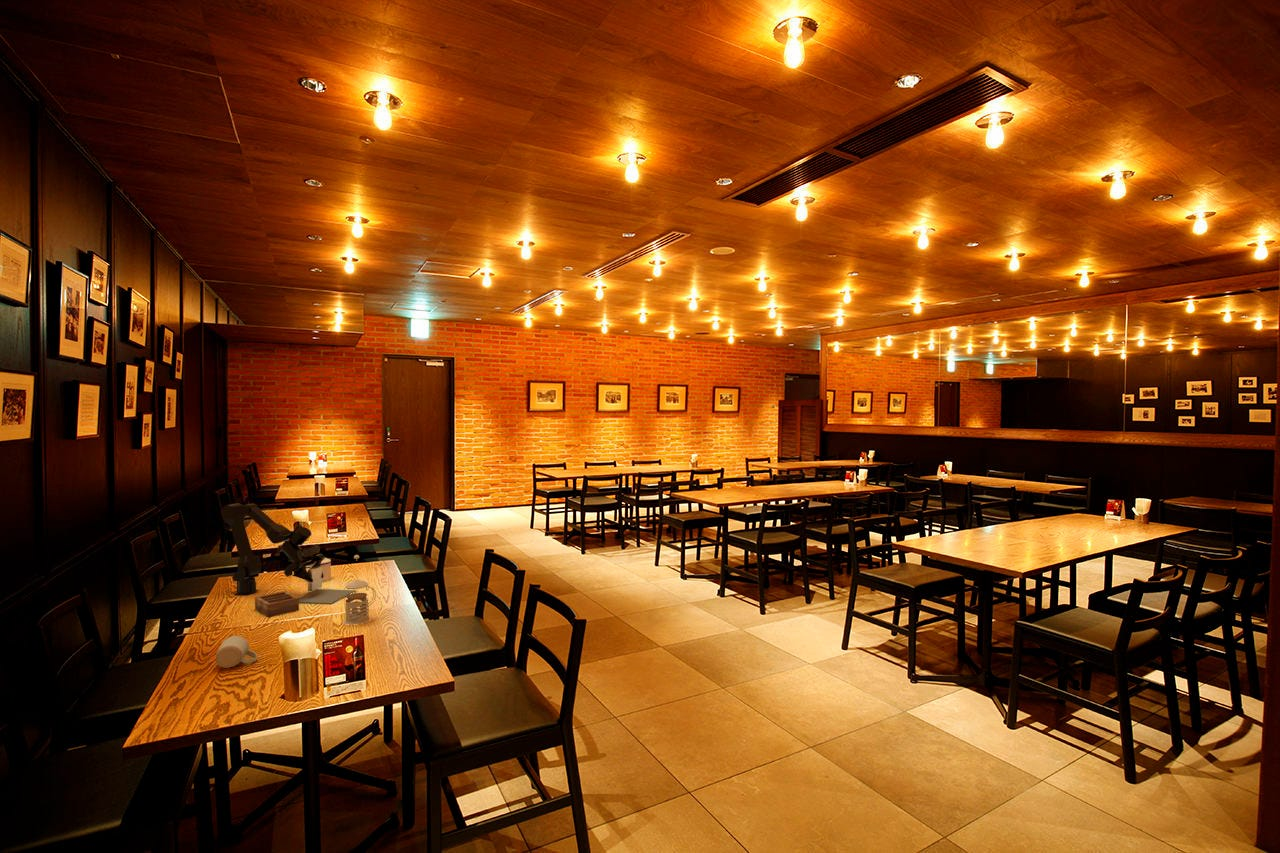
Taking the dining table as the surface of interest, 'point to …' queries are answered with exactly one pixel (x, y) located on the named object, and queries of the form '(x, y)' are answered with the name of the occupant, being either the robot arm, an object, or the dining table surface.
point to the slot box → (276, 604)
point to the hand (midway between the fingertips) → (317, 579)
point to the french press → (357, 603)
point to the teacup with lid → (325, 569)
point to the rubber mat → (324, 596)
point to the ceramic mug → (234, 652)
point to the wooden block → (315, 578)
